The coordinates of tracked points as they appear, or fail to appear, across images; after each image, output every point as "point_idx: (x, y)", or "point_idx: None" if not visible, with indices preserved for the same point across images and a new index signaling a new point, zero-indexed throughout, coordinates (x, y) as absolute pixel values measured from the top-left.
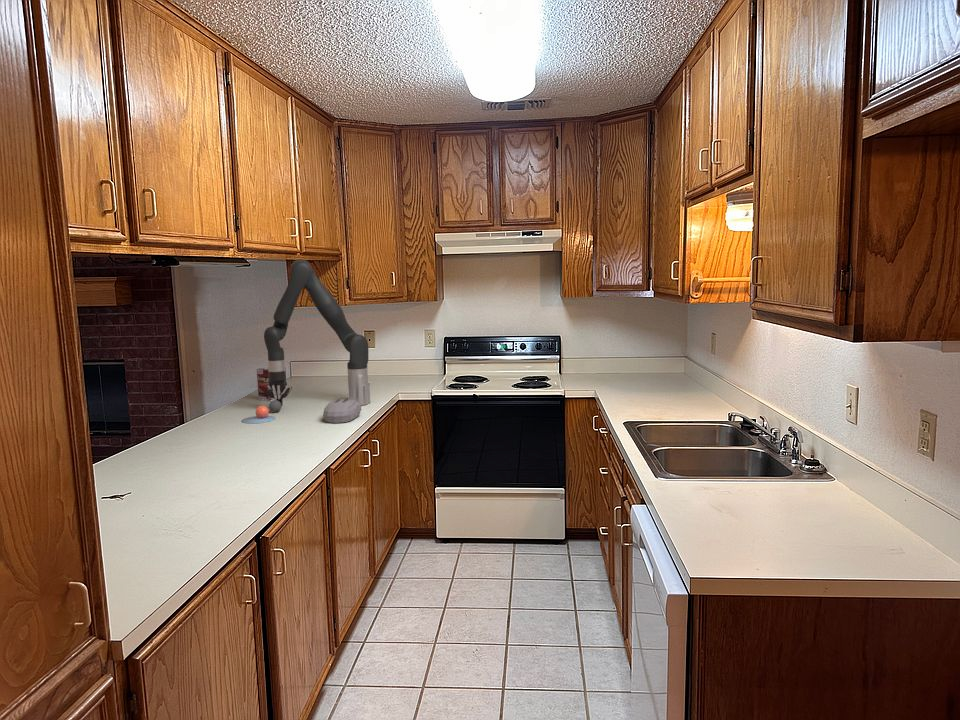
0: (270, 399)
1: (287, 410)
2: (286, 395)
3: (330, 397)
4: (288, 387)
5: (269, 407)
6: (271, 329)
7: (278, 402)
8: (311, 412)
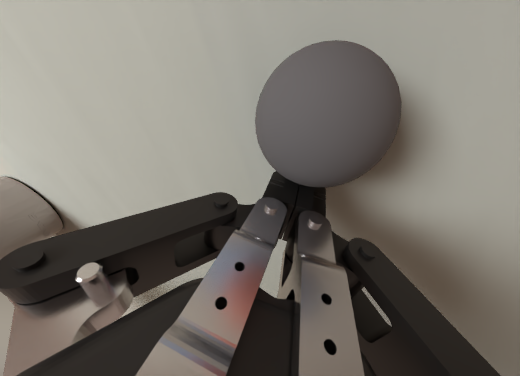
0: None
1: (246, 158)
2: (194, 236)
3: None
4: (23, 306)
5: (389, 68)
6: None
7: (267, 109)
8: (66, 58)
